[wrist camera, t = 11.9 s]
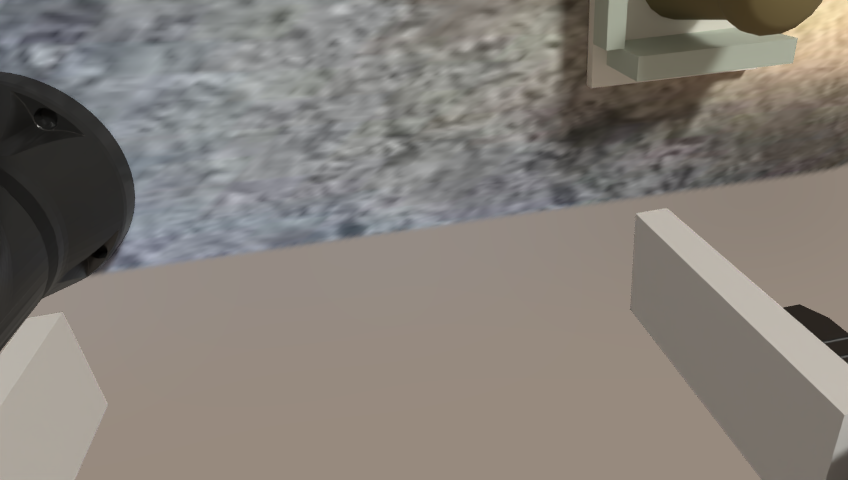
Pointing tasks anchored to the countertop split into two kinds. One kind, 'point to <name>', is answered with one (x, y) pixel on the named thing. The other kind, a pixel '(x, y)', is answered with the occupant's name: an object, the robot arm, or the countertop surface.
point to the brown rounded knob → (741, 13)
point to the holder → (670, 46)
